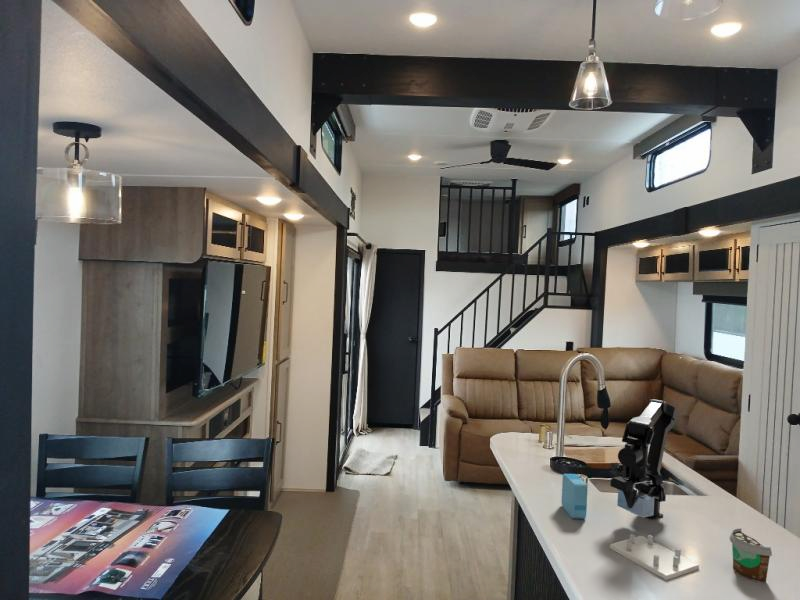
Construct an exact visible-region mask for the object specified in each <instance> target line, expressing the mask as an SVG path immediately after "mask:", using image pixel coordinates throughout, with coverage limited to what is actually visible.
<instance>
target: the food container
mask: <svg viewBox="0 0 800 600" xmlns="http://www.w3.org/2000/svg"><path fill="white" fill-rule="evenodd" d="M729 541H730V542H731V543H732V544H731V545H732V547H731V549H732V569H733V571H734V570H735V571H734V572H735V573H737V575H739V576H741V577H744V578H746V579H749V580H752V581H756V582H761V583H762V582H763V583H767V577H768V571H769V570H768V569H769V562H770V558H771V557H772V556H773V555H772V551H773V550H772V548H771V547H769V546H763V545H762V544H761V543H760V542H759V541H758V540H757V539H755V538H753V537H751V536H749V535H747V534H745V533H744V532H742V528H735V529H733V530H732V531H731V533H730V535H729Z"/></svg>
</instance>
